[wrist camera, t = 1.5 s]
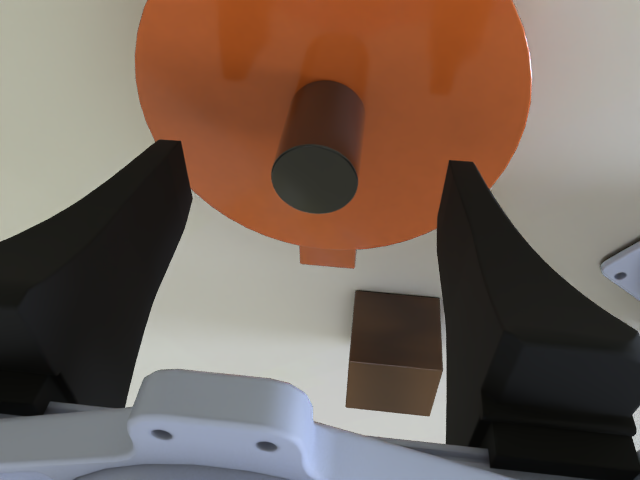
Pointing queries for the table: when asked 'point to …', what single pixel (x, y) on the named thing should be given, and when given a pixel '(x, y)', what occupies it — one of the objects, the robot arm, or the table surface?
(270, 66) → the pan lid
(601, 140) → the table surface
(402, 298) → the block
